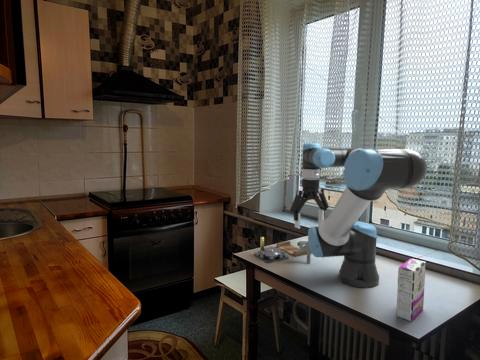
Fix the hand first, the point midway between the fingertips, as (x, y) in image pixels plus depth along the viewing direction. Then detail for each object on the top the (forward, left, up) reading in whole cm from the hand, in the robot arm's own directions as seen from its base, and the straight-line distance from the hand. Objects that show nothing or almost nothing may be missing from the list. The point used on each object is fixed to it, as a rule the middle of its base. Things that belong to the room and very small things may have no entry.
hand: (309, 225), depth 146 cm
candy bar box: (-49, 0, -18) cm, 52 cm away
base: (+15, +10, -17) cm, 25 cm away
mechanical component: (0, 0, -18) cm, 18 cm away
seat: (+17, -4, -17) cm, 24 cm away
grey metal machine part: (+15, +10, -16) cm, 24 cm away
